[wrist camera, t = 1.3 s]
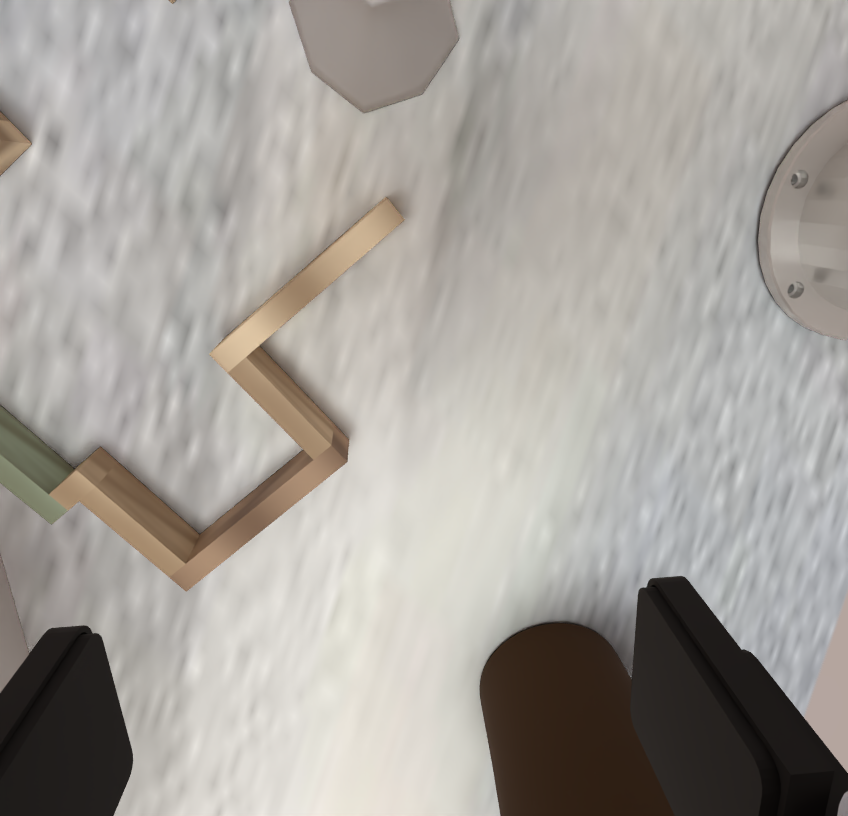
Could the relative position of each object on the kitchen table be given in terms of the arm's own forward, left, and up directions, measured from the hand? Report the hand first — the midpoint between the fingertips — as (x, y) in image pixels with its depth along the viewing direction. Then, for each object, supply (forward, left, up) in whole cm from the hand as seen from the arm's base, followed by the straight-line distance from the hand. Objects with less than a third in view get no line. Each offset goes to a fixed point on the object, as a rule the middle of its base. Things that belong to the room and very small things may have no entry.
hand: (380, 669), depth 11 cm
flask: (-10, -11, -24) cm, 29 cm away
